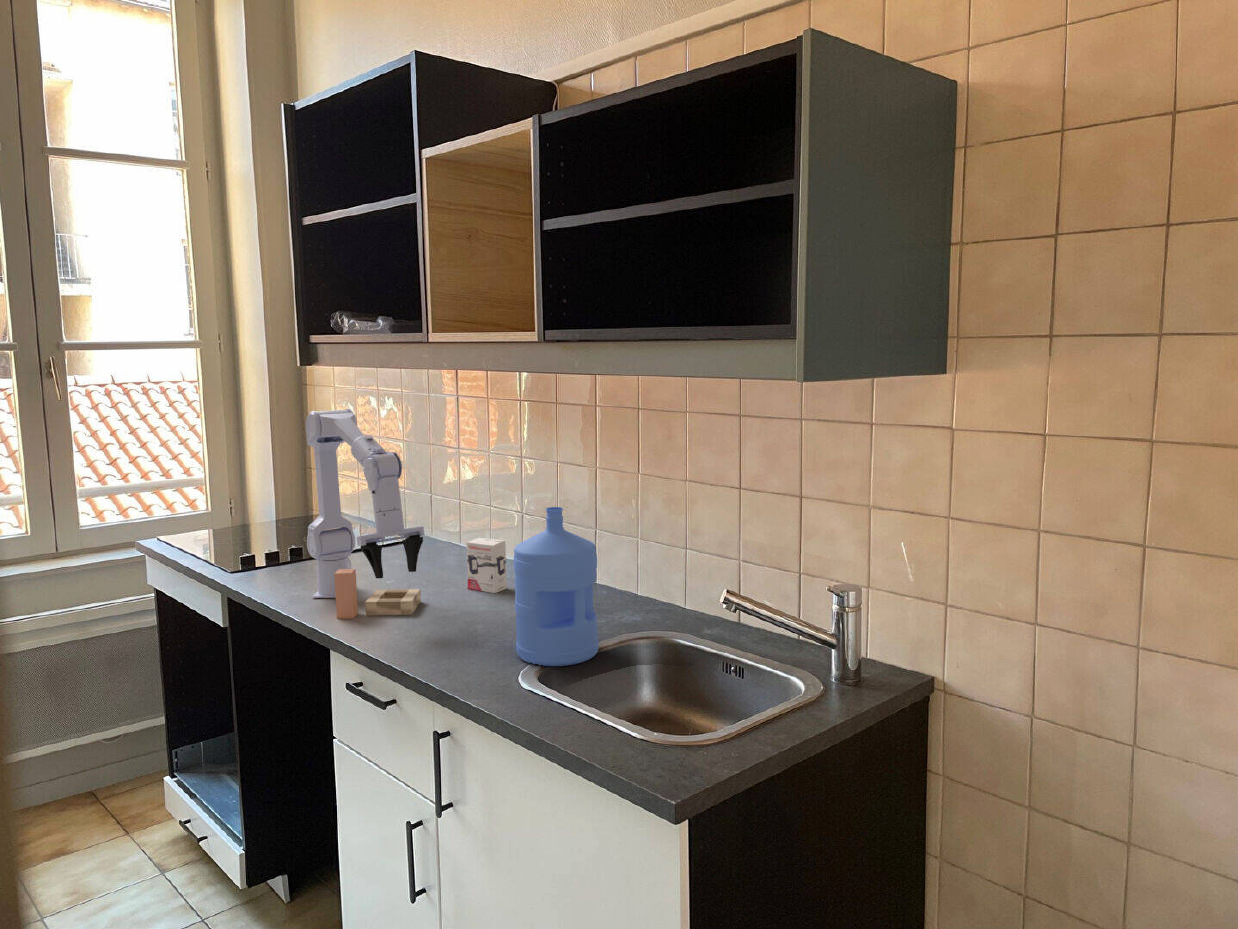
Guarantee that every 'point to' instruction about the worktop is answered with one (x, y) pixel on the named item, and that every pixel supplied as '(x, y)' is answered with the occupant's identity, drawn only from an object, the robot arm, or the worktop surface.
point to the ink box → (486, 565)
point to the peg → (346, 593)
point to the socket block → (393, 602)
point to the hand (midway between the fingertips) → (396, 574)
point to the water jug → (555, 596)
